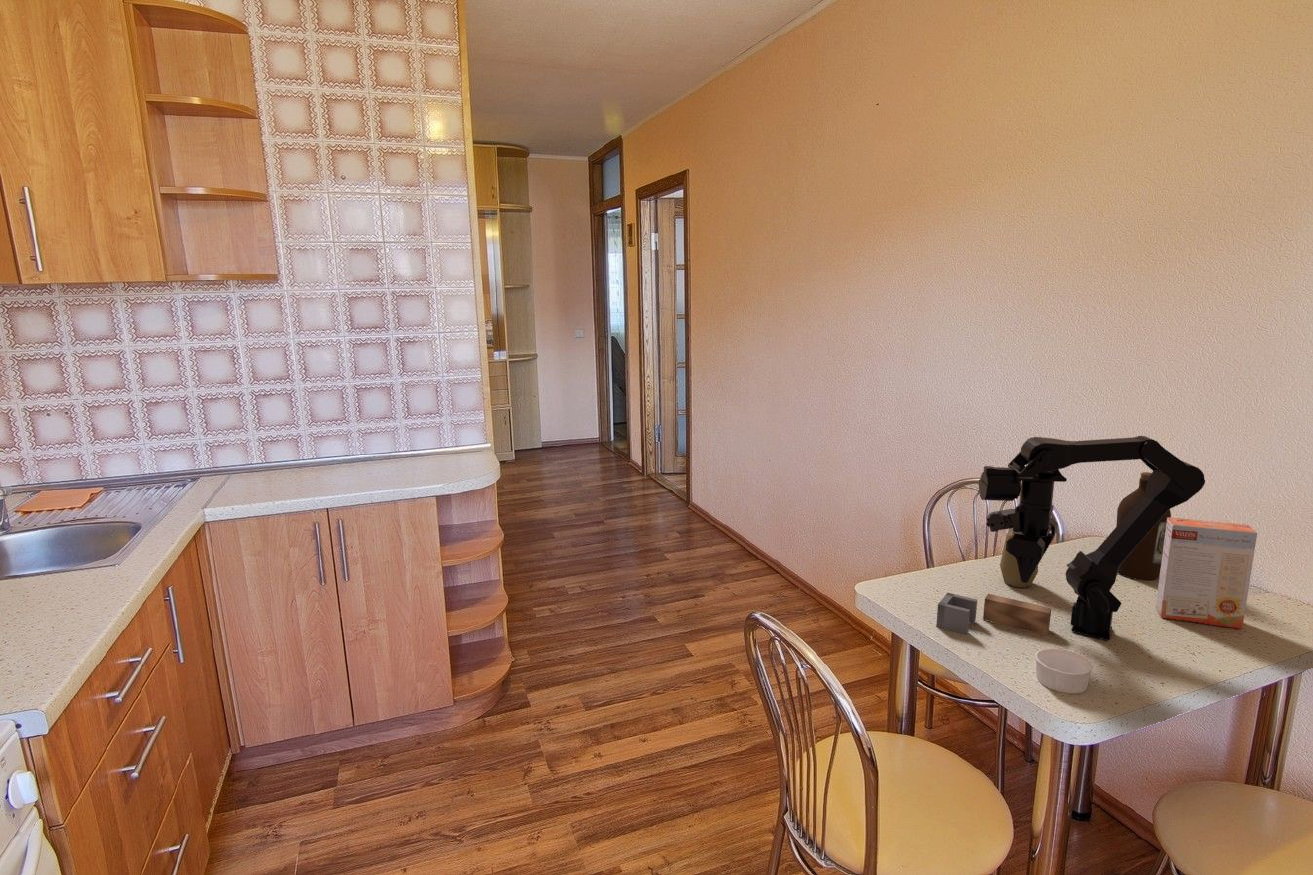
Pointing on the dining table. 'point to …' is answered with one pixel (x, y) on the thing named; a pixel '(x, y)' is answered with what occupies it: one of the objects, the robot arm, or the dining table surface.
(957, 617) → the end cap
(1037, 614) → the slat
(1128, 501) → the olive oil
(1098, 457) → the robot arm
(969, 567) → the dining table surface
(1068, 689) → the ramekin
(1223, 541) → the cracker box
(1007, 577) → the squeeze bottle
